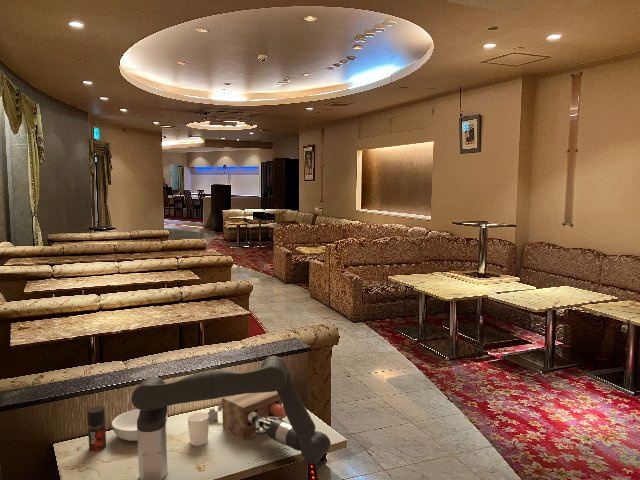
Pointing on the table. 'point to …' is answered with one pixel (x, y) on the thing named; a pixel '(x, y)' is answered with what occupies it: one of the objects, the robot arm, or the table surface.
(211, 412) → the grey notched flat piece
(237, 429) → the socket block
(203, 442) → the white cup
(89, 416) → the deodorant
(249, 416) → the grey plug
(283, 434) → the robot arm
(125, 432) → the serving bowl
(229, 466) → the table surface
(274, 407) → the red plug
